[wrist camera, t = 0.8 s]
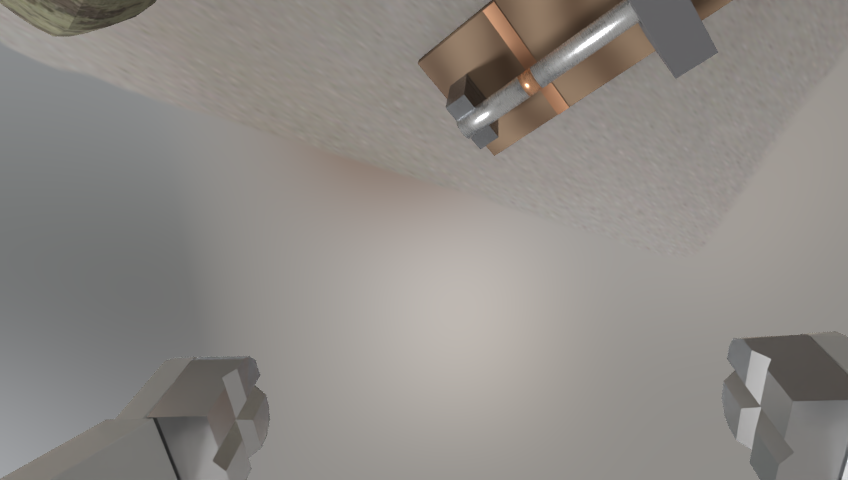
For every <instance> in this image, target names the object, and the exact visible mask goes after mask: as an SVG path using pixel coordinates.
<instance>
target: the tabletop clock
mask: <svg viewBox="0 0 848 480" xmlns="http://www.w3.org/2000/svg"><path fill="white" fill-rule="evenodd" d="M155 2H156V0H0V3H1V4H2V5H4V6H5V7H6V8H8V9H9V10H10V11H12V12H13V13H14V14H16V15H17V16H19V17H20V18H22V19H23V20H25V21H26V22H28V23H29V24H31V25H33V26H34V27H36V28H38V29H40V30H42V31H44V32H46V33H48V34H50V35H52V36H74V35H79V34H84V33H87V32H91V31H94V30H98V29H101V28H105V27H108V26H111V25H114V24H116V23H119V22H122V21H125V20H127V19H130V18H133V17H136V16H137V15H138V14H140V13H141V12H143V11H144V10H145V9H147V8H148V7H149V6H151V5H152V4H154V3H155Z"/></svg>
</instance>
